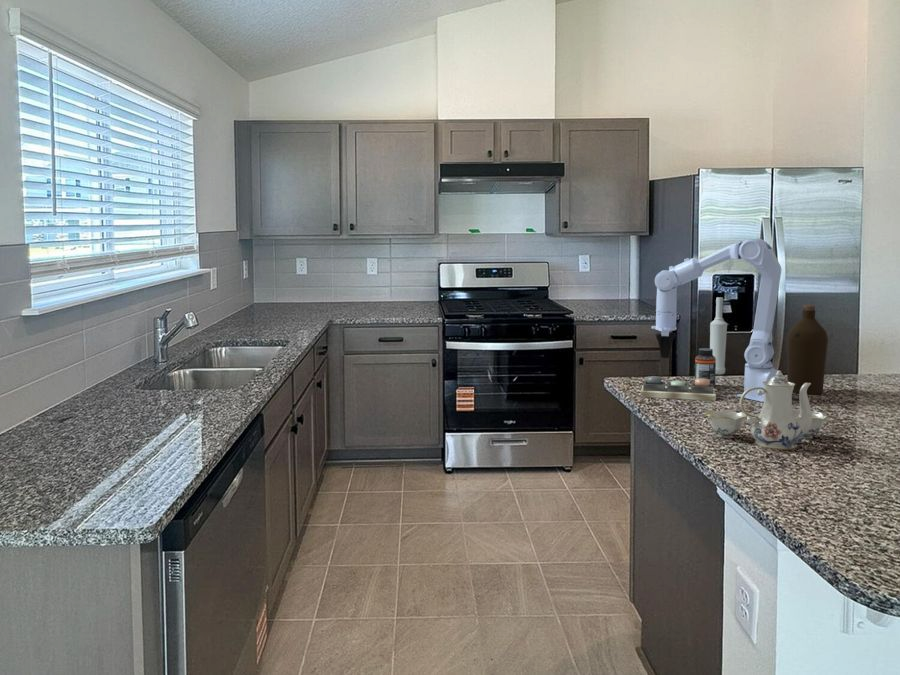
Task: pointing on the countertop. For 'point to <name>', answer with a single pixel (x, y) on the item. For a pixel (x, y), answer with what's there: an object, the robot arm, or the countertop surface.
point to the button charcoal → (654, 380)
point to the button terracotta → (702, 382)
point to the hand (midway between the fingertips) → (664, 357)
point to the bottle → (718, 337)
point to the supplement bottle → (705, 365)
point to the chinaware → (772, 417)
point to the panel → (678, 391)
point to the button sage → (678, 383)
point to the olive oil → (807, 353)
